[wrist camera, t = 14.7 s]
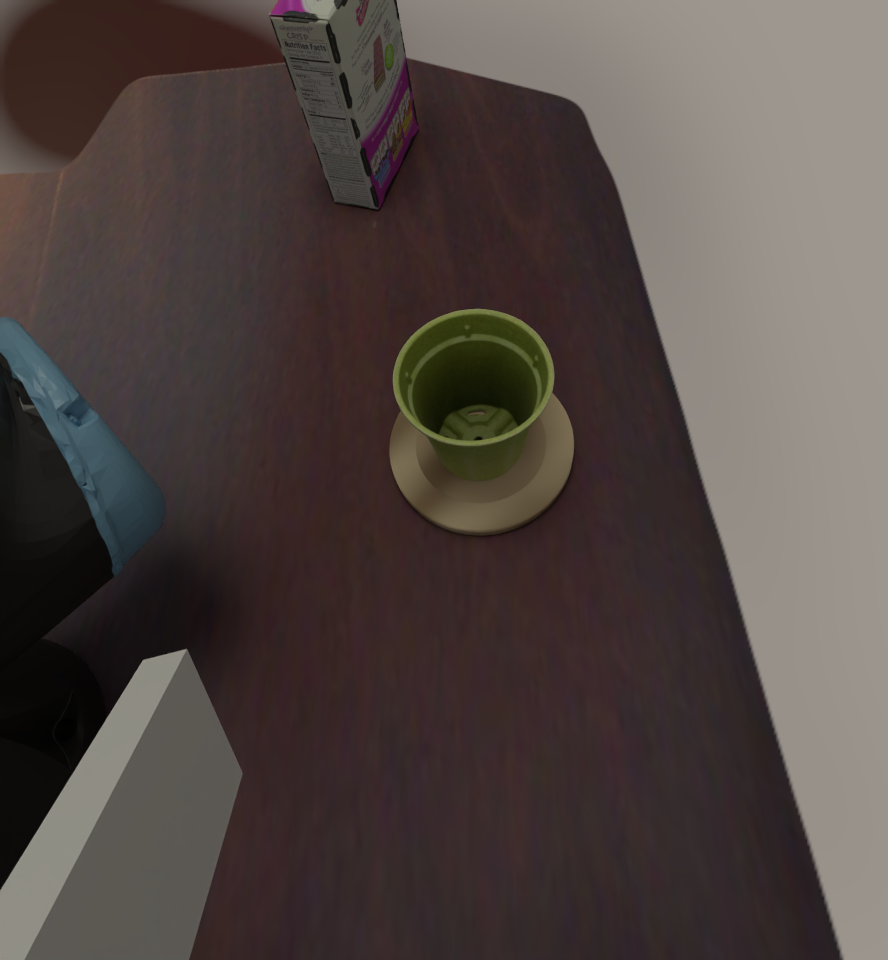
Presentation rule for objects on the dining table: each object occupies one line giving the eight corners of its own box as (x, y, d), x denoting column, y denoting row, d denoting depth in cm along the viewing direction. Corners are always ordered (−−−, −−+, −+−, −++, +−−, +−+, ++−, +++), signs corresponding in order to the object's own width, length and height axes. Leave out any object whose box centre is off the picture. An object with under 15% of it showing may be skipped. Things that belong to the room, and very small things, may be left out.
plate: (358, 481, 46) (353, 474, 45) (452, 350, 50) (450, 340, 49) (515, 569, 42) (515, 564, 41) (604, 419, 46) (606, 410, 45)
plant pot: (538, 379, 46) (541, 299, 39) (557, 496, 42) (566, 434, 35) (411, 394, 47) (389, 319, 39) (418, 512, 43) (396, 454, 35)
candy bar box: (372, 123, 62) (326, -80, 47) (420, 129, 61) (388, -77, 46) (329, 205, 58) (264, 11, 43) (379, 213, 57) (330, 16, 42)
